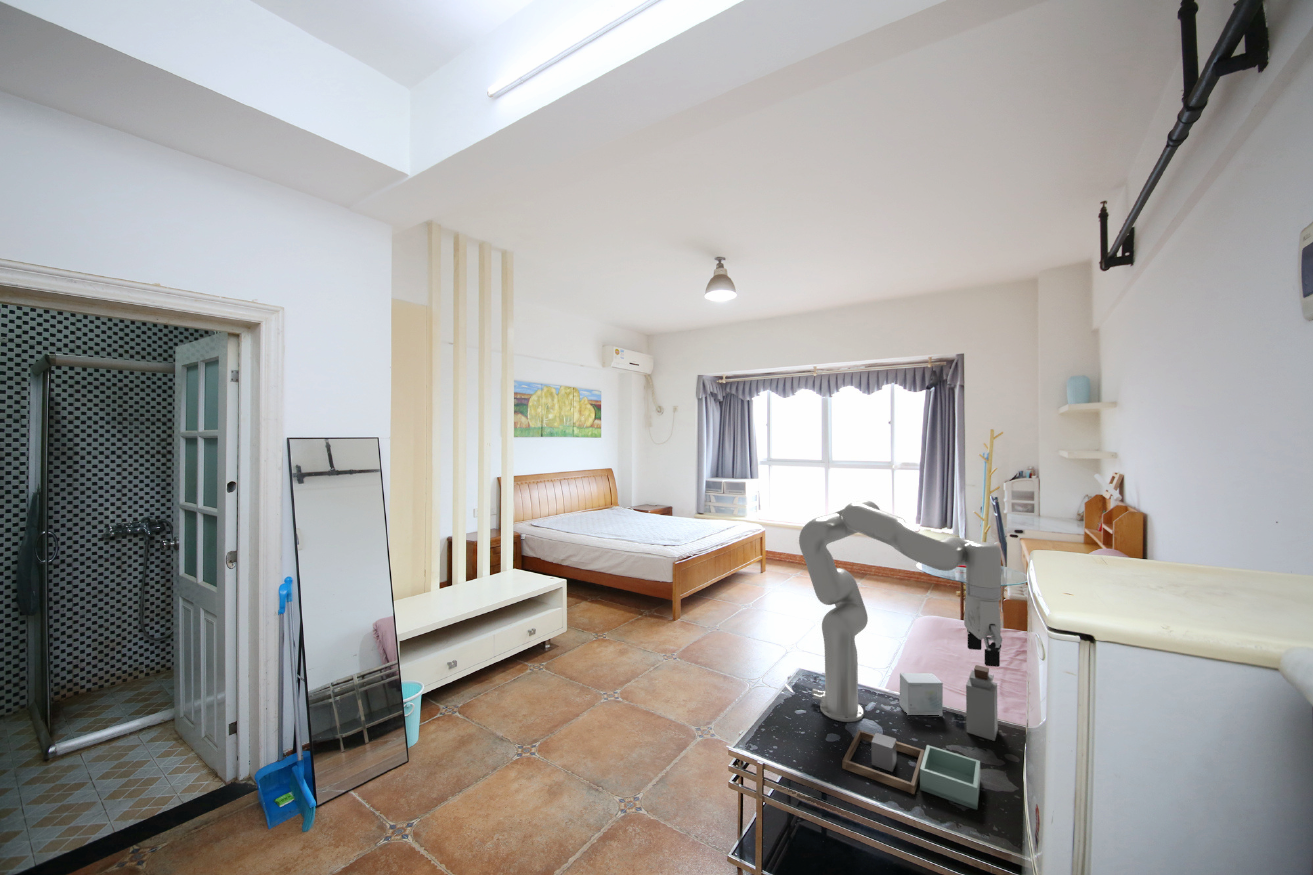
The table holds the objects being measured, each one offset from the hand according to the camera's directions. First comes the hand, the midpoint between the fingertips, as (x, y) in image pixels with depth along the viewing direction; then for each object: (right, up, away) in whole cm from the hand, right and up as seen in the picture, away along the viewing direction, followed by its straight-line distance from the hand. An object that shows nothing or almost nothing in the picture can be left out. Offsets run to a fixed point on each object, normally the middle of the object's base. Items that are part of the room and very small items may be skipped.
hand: (982, 657), depth 131 cm
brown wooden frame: (-25, -28, +1) cm, 38 cm away
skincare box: (-3, -28, +26) cm, 38 cm away
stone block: (-25, -28, +1) cm, 38 cm away
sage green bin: (-13, -28, -8) cm, 32 cm away
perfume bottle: (+9, -28, +15) cm, 33 cm away
